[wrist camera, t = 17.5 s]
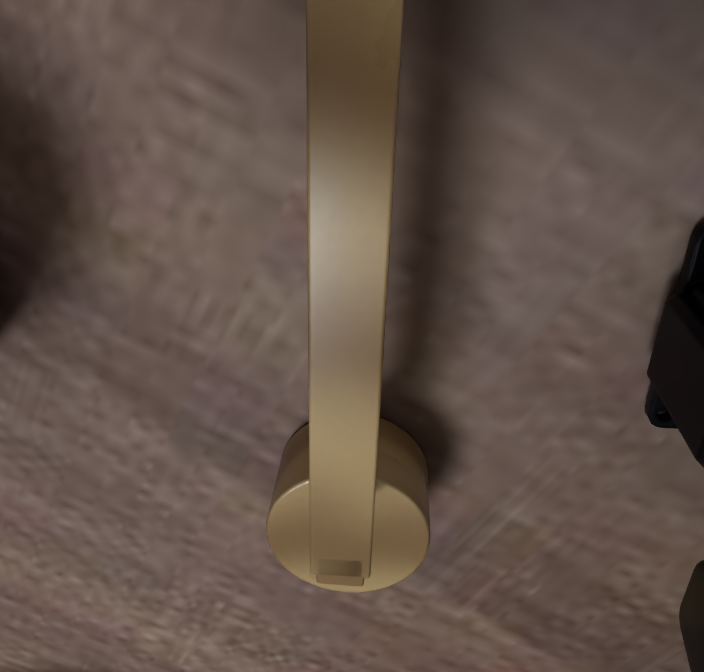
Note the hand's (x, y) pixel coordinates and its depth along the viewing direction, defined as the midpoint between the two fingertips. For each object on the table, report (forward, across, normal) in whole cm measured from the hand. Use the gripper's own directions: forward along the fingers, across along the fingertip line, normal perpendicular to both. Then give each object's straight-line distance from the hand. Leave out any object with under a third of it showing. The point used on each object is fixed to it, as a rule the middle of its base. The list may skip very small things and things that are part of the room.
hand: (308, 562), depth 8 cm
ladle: (+12, 0, +2) cm, 12 cm away
